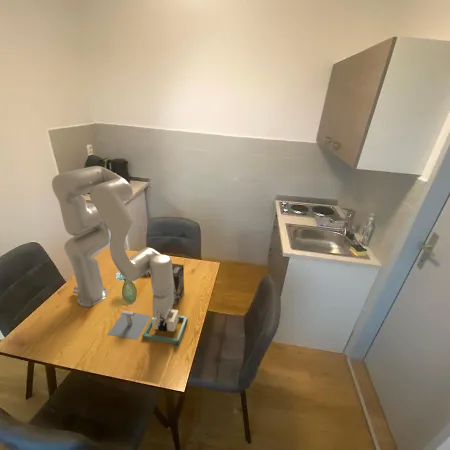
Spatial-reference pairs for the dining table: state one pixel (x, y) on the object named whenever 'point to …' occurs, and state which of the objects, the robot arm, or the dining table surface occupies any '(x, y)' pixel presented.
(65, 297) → the dining table surface
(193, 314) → the dining table surface
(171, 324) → the white hollow rectangular block
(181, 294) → the coffee box
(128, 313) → the grey plate with peg
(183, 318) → the tray
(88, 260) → the robot arm
